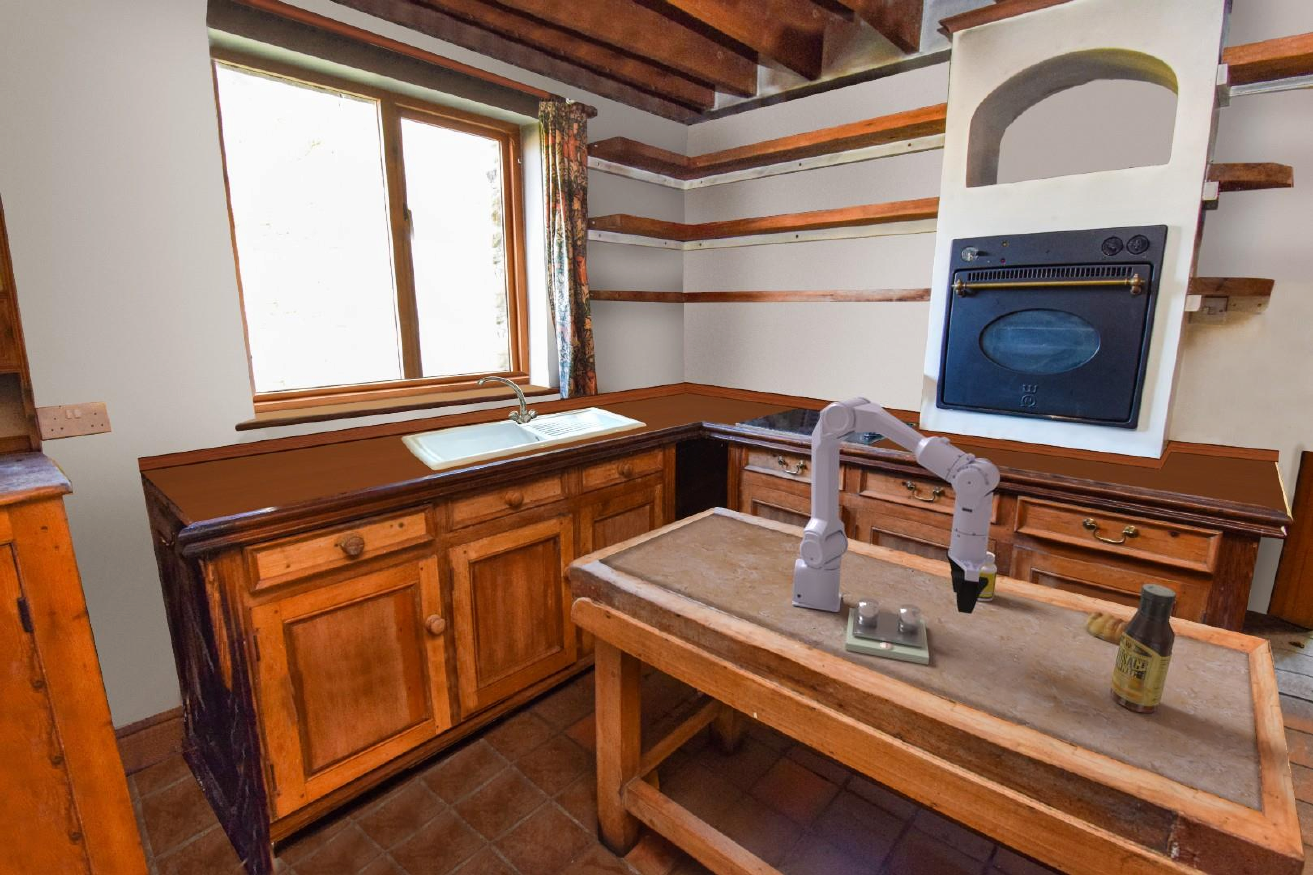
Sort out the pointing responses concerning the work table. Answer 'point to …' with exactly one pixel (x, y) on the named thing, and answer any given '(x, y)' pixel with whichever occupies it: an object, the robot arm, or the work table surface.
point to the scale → (887, 645)
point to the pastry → (1106, 627)
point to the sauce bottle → (1145, 652)
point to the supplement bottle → (989, 572)
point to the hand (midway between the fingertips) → (962, 601)
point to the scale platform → (886, 630)
